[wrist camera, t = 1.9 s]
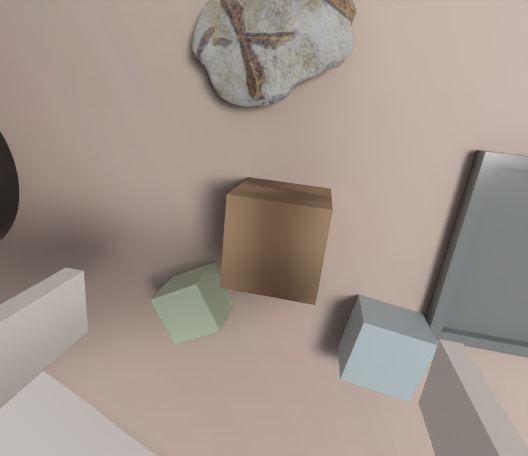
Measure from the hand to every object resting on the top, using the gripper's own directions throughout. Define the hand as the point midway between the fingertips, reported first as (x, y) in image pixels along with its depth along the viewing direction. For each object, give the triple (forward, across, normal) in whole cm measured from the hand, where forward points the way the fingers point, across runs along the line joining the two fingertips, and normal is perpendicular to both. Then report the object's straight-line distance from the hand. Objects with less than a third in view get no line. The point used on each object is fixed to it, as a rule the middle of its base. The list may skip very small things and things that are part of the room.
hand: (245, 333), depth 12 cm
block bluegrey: (+14, +8, -8) cm, 18 cm away
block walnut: (+14, 0, 0) cm, 14 cm away
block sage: (+14, -6, -7) cm, 17 cm away
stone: (+14, +1, +11) cm, 18 cm away
